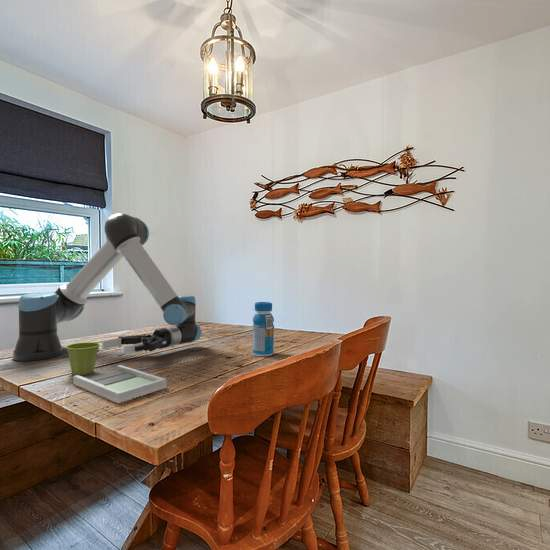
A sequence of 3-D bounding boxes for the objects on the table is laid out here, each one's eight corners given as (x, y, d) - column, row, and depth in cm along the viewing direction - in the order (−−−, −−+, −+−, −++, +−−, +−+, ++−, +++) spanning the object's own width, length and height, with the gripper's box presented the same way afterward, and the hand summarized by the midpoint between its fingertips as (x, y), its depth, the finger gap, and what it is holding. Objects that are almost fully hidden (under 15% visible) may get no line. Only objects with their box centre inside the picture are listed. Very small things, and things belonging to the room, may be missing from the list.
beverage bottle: (251, 356, 128) (251, 303, 128) (252, 351, 137) (253, 301, 137) (273, 357, 128) (274, 303, 128) (274, 351, 137) (274, 301, 136)
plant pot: (92, 366, 114) (92, 340, 114) (105, 372, 108) (105, 344, 108) (60, 373, 107) (60, 345, 106) (72, 379, 101) (72, 350, 100)
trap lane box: (73, 384, 96) (73, 376, 96) (120, 372, 108) (120, 364, 108) (118, 403, 83) (118, 393, 83) (166, 387, 94) (166, 379, 94)
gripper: (187, 351, 125) (134, 364, 108) (147, 343, 140) (94, 353, 122) (187, 331, 125) (134, 341, 108) (147, 324, 140) (94, 332, 122)
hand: (113, 347), depth 115 cm, fingers open, 13 cm apart
